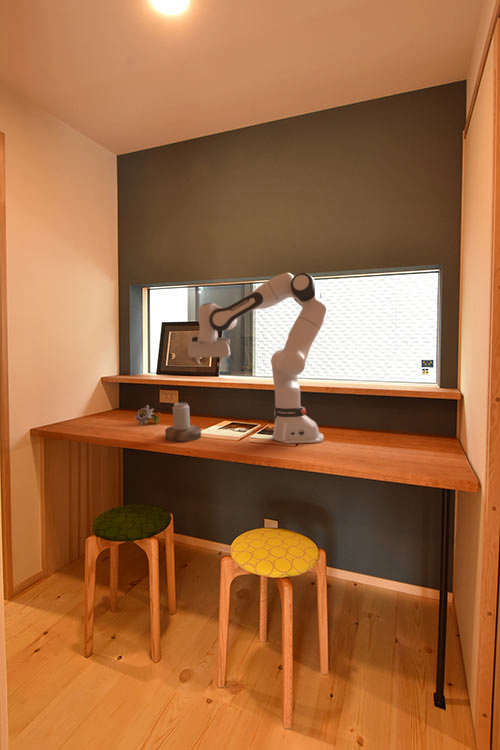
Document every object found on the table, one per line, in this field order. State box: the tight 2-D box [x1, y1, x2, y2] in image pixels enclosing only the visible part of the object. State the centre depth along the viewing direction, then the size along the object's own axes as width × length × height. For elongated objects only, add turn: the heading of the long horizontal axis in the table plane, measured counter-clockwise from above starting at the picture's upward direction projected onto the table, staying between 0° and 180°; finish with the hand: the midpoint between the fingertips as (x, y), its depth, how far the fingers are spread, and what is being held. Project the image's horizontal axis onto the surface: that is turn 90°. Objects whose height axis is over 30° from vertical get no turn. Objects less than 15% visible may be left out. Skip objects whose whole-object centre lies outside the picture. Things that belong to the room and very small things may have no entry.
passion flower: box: [133, 404, 161, 426], centre depth 216 cm, size 11×11×12 cm
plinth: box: [164, 424, 202, 443], centre depth 185 cm, size 16×16×4 cm
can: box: [172, 402, 191, 431], centre depth 183 cm, size 8×8×12 cm
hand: (209, 366), depth 194 cm, fingers open, 8 cm apart
